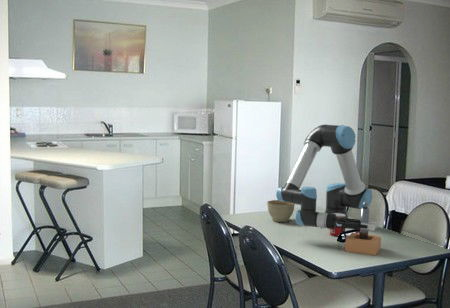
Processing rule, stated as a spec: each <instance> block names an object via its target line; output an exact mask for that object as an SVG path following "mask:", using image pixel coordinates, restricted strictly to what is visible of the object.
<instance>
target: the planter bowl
mask: <svg viewBox="0 0 450 308" xmlns="http://www.w3.org/2000/svg"><path fill="white" fill-rule="evenodd" d="M266 205H267V211H268V213H269V216H270V217H271V219H272V221H273V222H276V223H285V222H288V221H290V218H292V216H293V213H294V210H295V205H296V204H293V203H287V202H286V203H285V202H282V201H279V200H278V199H274V200H273V199H271V200H268V201H267V202H266Z"/></svg>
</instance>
